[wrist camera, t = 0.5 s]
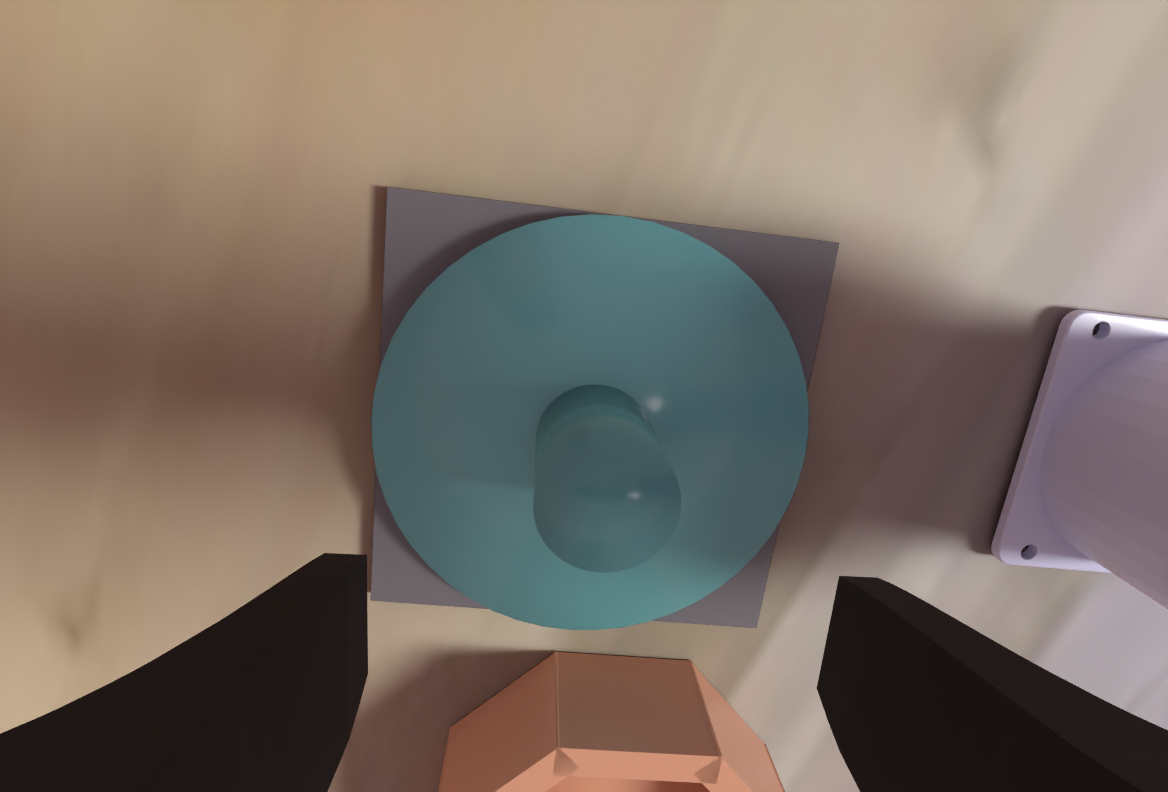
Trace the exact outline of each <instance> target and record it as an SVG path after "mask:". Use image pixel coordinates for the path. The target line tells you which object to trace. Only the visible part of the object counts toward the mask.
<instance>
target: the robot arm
mask: <svg viewBox="0 0 1168 792" xmlns="http://www.w3.org/2000/svg"><path fill="white" fill-rule="evenodd" d="M1098 323H1099V324H1100V325H1099V330H1098V332H1097V334H1095V335H1094V336H1093V335H1092V333H1093V328H1094V327H1095V325H1096V324H1098ZM1027 545H1028V548H1027V550H1026V551H1025V552H1023V553H1021V551H1022V549H1023V548H1024V547H1025V546H1027ZM991 551H992V553H993V555H994V556H995V557H996V558H997V559H999V560H1000V561H1001V562H1002V563H1005V564H1008V565H1020V566H1032V567H1044V568H1056V569H1068V570H1080V571H1092V572H1104V573H1113V574H1115V575H1116V576H1118V577H1119V578H1121V579H1123V580H1124V581H1126V582H1127V583H1129V584H1130V585H1132V586H1133V587H1135V588H1136V589H1138V590H1139V591H1141V592H1143V593H1144V594H1146V595H1147V596H1149V597H1150V598H1152V599H1153V600H1155V601H1156V602H1158V603H1159V604H1161V605H1163V606H1164V607H1166V608H1167V609H1168V320H1166V319H1157V318H1149V317H1141V316H1132V315H1124V314H1115V313H1107V312H1099V311H1090V310H1082V309H1081V310H1074V311H1072V312H1070V313H1068V314H1067V315H1066V316H1065V317H1064V318H1063V319H1062V321H1061V323H1060V325H1059V328H1058V332H1057V335H1056V338H1055V341H1054V345H1053V348H1052V351H1051V354H1050V358H1049V361H1048V364H1047V367H1046V370H1045V374H1044V377H1043V380H1042V383H1041V387H1040V390H1039V393H1038V396H1037V400H1036V403H1035V406H1034V409H1033V412H1032V416H1031V419H1030V422H1029V425H1028V429H1027V432H1026V435H1025V438H1024V442H1023V445H1022V448H1021V451H1020V455H1019V458H1018V461H1017V464H1016V467H1015V471H1014V474H1013V477H1012V480H1011V484H1010V487H1009V490H1008V493H1007V497H1006V500H1005V503H1004V506H1003V509H1002V513H1001V516H1000V519H999V522H998V526H997V529H996V532H995V535H994V539H993V542H992V547H991ZM367 675H368V639H367V555H354V554H331V553H324V554H323V555H321V556H319V557H317V558H315V559H314V560H312V561H311V562H309V563H307V564H306V565H304V566H303V567H301V568H300V569H298V570H297V571H295V572H294V573H292V574H291V575H289V576H288V577H286V578H285V579H283V580H282V581H280V582H279V583H277V584H276V585H274V586H273V587H271V588H270V589H268V590H267V591H265V592H264V593H262V594H260V595H259V596H257V597H256V598H254V599H253V600H251V601H250V602H248V603H247V604H245V605H244V606H242V607H240V608H239V609H237V610H236V611H234V612H233V613H231V614H230V615H228V616H227V617H225V618H223V619H222V620H220V621H219V622H217V623H215V624H214V625H212V626H210V627H208V628H207V629H205V630H203V631H202V632H200V633H198V634H197V635H195V636H193V637H192V638H190V639H188V640H187V641H185V642H183V643H181V644H180V645H178V646H176V647H175V648H173V649H171V650H170V651H168V652H166V653H165V654H163V655H161V656H159V657H158V658H156V659H154V660H153V661H151V662H149V663H147V664H145V665H144V666H142V667H140V668H138V669H136V670H134V671H133V672H131V673H129V674H127V675H125V676H123V677H121V678H119V679H117V680H115V681H113V682H112V683H110V684H108V685H106V686H104V687H101V688H99V689H97V690H95V691H93V692H91V693H89V694H87V695H85V696H83V697H81V698H79V699H77V700H75V701H73V702H71V703H69V704H67V705H65V706H63V707H61V708H58V709H56V710H54V711H52V712H50V713H48V714H45V715H43V716H41V717H39V718H36V719H34V720H32V721H29V722H27V723H25V724H22V725H20V726H18V727H15V728H13V729H11V730H8V731H6V732H3V733H1V734H0V792H327V791H328V789H329V786H330V784H331V782H332V779H333V777H334V774H335V772H336V770H337V767H338V765H339V762H340V760H341V758H342V755H343V753H344V750H345V748H346V745H347V743H348V741H349V738H350V735H351V731H352V728H353V724H354V721H355V718H356V714H357V711H358V707H359V704H360V700H361V697H362V693H363V689H364V686H365V682H366V678H367ZM817 690H818V693H819V696H820V699H821V702H822V704H823V707H824V710H825V713H826V716H827V719H828V722H829V724H830V727H831V730H832V732H833V735H834V737H835V740H836V742H837V745H838V748H839V750H840V752H841V754H842V756H843V758H844V760H845V763H846V765H847V767H848V769H849V770H850V772H851V774H852V776H853V778H854V780H855V782H856V784H857V786H858V788H859V790H860V792H1168V730H1165V729H1163V728H1161V727H1159V726H1157V725H1155V724H1152V723H1150V722H1148V721H1146V720H1144V719H1141V718H1139V717H1137V716H1135V715H1133V714H1131V713H1129V712H1127V711H1125V710H1123V709H1120V708H1118V707H1116V706H1114V705H1112V704H1110V703H1108V702H1106V701H1104V700H1102V699H1100V698H1098V697H1096V696H1094V695H1092V694H1091V693H1089V692H1087V691H1085V690H1083V689H1081V688H1079V687H1077V686H1075V685H1073V684H1071V683H1070V682H1068V681H1066V680H1064V679H1062V678H1060V677H1058V676H1056V675H1054V674H1052V673H1050V672H1049V671H1047V670H1045V669H1043V668H1041V667H1039V666H1038V665H1036V664H1034V663H1032V662H1030V661H1029V660H1027V659H1025V658H1023V657H1021V656H1019V655H1018V654H1016V653H1014V652H1012V651H1011V650H1009V649H1007V648H1005V647H1003V646H1002V645H1000V644H998V643H996V642H995V641H993V640H991V639H989V638H988V637H986V636H984V635H982V634H981V633H979V632H977V631H976V630H974V629H972V628H970V627H969V626H967V625H965V624H963V623H962V622H960V621H958V620H956V619H955V618H953V617H951V616H950V615H948V614H946V613H944V612H943V611H941V610H939V609H937V608H936V607H934V606H932V605H930V604H929V603H927V602H925V601H923V600H921V599H920V598H918V597H916V596H914V595H912V594H910V593H909V592H907V591H905V590H903V589H901V588H899V587H897V586H895V585H893V584H891V583H889V582H886V581H884V580H882V579H879V578H872V577H850V576H839V580H838V585H837V590H836V595H835V600H834V605H833V610H832V615H831V620H830V625H829V630H828V635H827V640H826V645H825V650H824V655H823V660H822V665H821V670H820V675H819V680H818V685H817Z"/></svg>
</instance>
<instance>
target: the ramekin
mask: <svg viewBox="0 0 1168 792" xmlns="http://www.w3.org/2000/svg"><path fill="white" fill-rule="evenodd" d="M438 792H785V791H784V788H783V786H782V784H781V781H780V779H779V776H778V774H777V771H776V769H775V766H774V764H773V762H772V759H771V757H770V754H769V752H768V749H767V747H766V744H764V743H763V742H762V741H761V740H760V739H759V738H758V737H757V735H756V734H755V733H754V732H753V731H752V730H751V729H750V728H749V726H748V725H747V724H746V723H745V722H744V721H743V720H742V719H741V717H740V716H739V715H738V714H737V713H736V712H735V711H734V710H733V708H732V707H731V706H730V705H729V704H728V703H727V702H726V701H725V699H724V698H723V697H722V696H721V695H720V694H719V693H718V692H717V690H716V689H715V688H714V687H713V686H712V685H711V684H710V683H709V681H708V680H707V679H706V678H705V677H704V676H703V675H702V674H701V672H700V671H699V670H698V669H697V668H696V667H695V666H694V665H693V663H692V661H690V660H689V661H687V660H672V659H657V658H642V657H627V656H612V655H597V654H582V653H567V652H557V651H556V652H554V653H553V654H552V655H550V656H549V657H548V658H546V659H545V660H543V661H542V662H541V663H539V664H538V665H536V666H535V667H534V668H532V669H531V670H529V671H528V672H527V673H525V674H524V675H522V676H521V677H520V678H518V679H517V680H516V681H514V682H513V683H511V684H510V685H509V686H507V687H506V688H504V689H503V690H502V691H500V692H499V693H497V694H496V695H495V696H493V697H492V698H490V699H489V700H488V701H486V702H485V703H483V704H482V705H481V706H479V707H478V708H476V709H475V710H474V711H472V712H471V713H469V714H468V715H467V716H465V717H464V718H463V719H461V720H460V721H458V722H457V723H456V724H454V725H453V726H450V729H449V734H448V740H447V746H446V751H445V757H444V762H443V768H442V773H441V779H440V784H439V790H438Z"/></svg>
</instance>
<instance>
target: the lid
mask: <svg viewBox="0 0 1168 792" xmlns="http://www.w3.org/2000/svg"><path fill="white" fill-rule="evenodd" d="M808 423H809V406H808V397H807V389H806V381H805V377H804V373H803V369H802V366H801V362H800V358H799V354H798V352H797V350H796V347H795V345H794V342H793V340H792V338H791V335H790V333H789V331H788V328H787V327H786V325H785V323H784V322H783V320H782V318H781V317H780V315H779V313H778V312H777V310H776V308H775V307H774V305H773V304H772V302H771V301H770V300H769V299H768V298H767V296H766V295H765V294H764V293H763V291H762V290H761V289H760V288H759V286H758V285H757V284H756V283H755V282H754V281H753V280H752V279H751V278H750V277H749V276H748V275H747V274H746V273H745V272H743V271H742V270H741V269H740V268H739V267H738V266H737V265H736V264H735V263H734V262H732V261H731V260H729V259H728V258H727V257H725V256H724V255H722V254H721V253H719V252H718V251H716V250H715V249H714V248H712V247H711V246H709V245H707V244H705V243H703V242H701V241H699V240H697V239H695V238H693V237H691V236H689V235H687V234H685V233H683V232H681V231H678V230H675V229H672V228H669V227H666V226H663V225H661V224H658V223H655V222H650V221H645V220H640V219H635V218H630V217H625V216H616V215H598V214H585V215H572V216H560V217H555V218H551V219H546V220H542V221H537V222H533V223H529V224H526V225H524V226H521V227H518V228H516V229H513V230H510V231H507V232H505V233H502V234H500V235H498V236H496V237H495V238H493V239H491V240H489V241H487V242H485V243H483V244H481V245H479V246H478V247H476V248H474V249H473V250H471V251H470V252H469V253H467V254H466V255H464V256H463V257H462V258H460V259H459V260H458V261H456V262H455V263H453V264H452V265H451V266H449V267H448V268H447V269H446V270H445V271H444V272H443V273H442V274H441V275H440V276H438V277H437V278H436V279H435V280H434V281H433V282H432V283H431V284H430V285H429V286H428V287H427V288H426V289H425V290H424V292H423V293H422V294H421V295H420V297H419V298H418V299H417V300H416V302H415V303H414V304H413V305H412V307H411V308H410V309H409V310H408V312H407V313H406V315H405V317H404V319H403V320H402V322H401V324H400V325H399V327H398V329H397V330H396V332H395V334H394V336H393V337H392V340H391V342H390V345H389V347H388V349H387V352H386V354H385V357H384V359H383V362H382V364H381V368H380V372H379V376H378V380H377V383H376V387H375V391H374V400H373V409H372V418H371V424H372V449H373V454H374V460H375V466H376V472H377V476H378V479H379V482H380V485H381V488H382V491H383V495H384V498H385V501H386V503H387V505H388V507H389V509H390V511H391V513H392V515H393V517H394V519H395V521H396V523H397V525H398V527H399V528H400V530H401V531H402V533H403V534H404V536H405V537H406V539H407V540H408V542H409V543H410V545H411V546H412V547H413V549H414V550H415V551H416V552H417V553H418V554H419V556H420V557H421V558H422V559H423V560H424V561H425V563H426V564H427V565H428V566H429V567H430V568H431V569H432V570H433V571H435V572H436V573H437V574H438V575H439V576H440V577H441V578H442V579H444V580H445V581H446V582H447V583H448V584H449V585H451V586H452V587H454V588H455V589H457V590H458V591H460V592H461V593H462V594H464V595H465V596H467V597H468V598H470V599H472V600H473V601H475V602H477V603H479V604H481V605H483V606H485V607H487V608H489V609H491V610H493V611H495V612H498V613H500V614H503V615H506V616H508V617H511V618H514V619H516V620H520V621H524V622H528V623H532V624H536V625H540V626H544V627H552V628H560V629H568V630H601V629H610V628H620V627H626V626H630V625H635V624H639V623H644V622H648V621H651V620H654V619H657V618H660V617H663V616H666V615H669V614H672V613H674V612H676V611H678V610H680V609H682V608H684V607H687V606H689V605H691V604H693V603H695V602H697V601H698V600H700V599H702V598H703V597H705V596H706V595H708V594H710V593H711V592H713V591H714V590H716V589H718V588H719V587H720V586H721V585H723V584H724V583H725V582H727V581H728V580H729V579H730V578H732V577H733V576H734V575H735V574H737V573H738V572H739V571H740V570H741V569H742V568H743V567H744V566H745V565H746V564H747V563H748V562H749V561H750V560H751V559H752V558H753V557H754V556H755V555H756V554H757V553H758V551H759V550H760V549H761V547H762V546H763V545H764V544H765V542H766V541H767V540H768V538H769V537H770V536H771V535H772V533H773V532H774V530H775V528H776V527H777V525H778V523H779V522H780V520H781V518H782V517H783V515H784V513H785V512H786V510H787V508H788V505H789V503H790V501H791V498H792V496H793V494H794V492H795V489H796V487H797V484H798V481H799V477H800V474H801V470H802V467H803V463H804V459H805V453H806V446H807V440H808Z"/></svg>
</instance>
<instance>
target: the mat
mask: <svg viewBox="0 0 1168 792" xmlns="http://www.w3.org/2000/svg"><path fill="white" fill-rule="evenodd" d="M585 214H598V215H611V214H603V213H594V212H586V211H578V210H570V209H562V208H554V207H546V206H538V205H530V204H522V203H514V202H506V201H498V200H490V199H482V198H473V197H465V196H457V195H449V194H441V193H433V192H425V191H417V190H409V189H401V188H393V187H387V207H386V232H385V256H384V281H383V306H382V330H381V355H380V368H381V364H382V362H383V359H384V357H385V354H386V352H387V349H388V347H389V345H390V342H391V340H392V337H393V336H394V334H395V332H396V330H397V329H398V327H399V325H400V324H401V322H402V320H403V319H404V317H405V315H406V313H407V312H408V310H409V309H410V308H411V307H412V305H413V304H414V303H415V302H416V300H417V299H418V298H419V297H420V295H421V294H422V293H423V292H424V290H425V289H426V288H427V287H428V286H429V285H430V284H431V283H432V282H433V281H434V280H435V279H436V278H437V277H438V276H440V275H441V274H442V273H443V272H444V271H445V270H446V269H447V268H448V267H449V266H451V265H452V264H453V263H455V262H456V261H458V260H459V259H460V258H462V257H463V256H464V255H466V254H467V253H469V252H470V251H471V250H473V249H474V248H476V247H478V246H479V245H481V244H483V243H485V242H487V241H489V240H491V239H493V238H495V237H496V236H498V235H500V234H502V233H505V232H507V231H510V230H513V229H516V228H518V227H521V226H524V225H526V224H529V223H533V222H537V221H542V220H546V219H551V218H555V217H560V216H572V215H585ZM616 216H619V215H616ZM625 217H627V216H625ZM630 218H635V217H630ZM635 219H640V220H645V221H650V222H655V223H658V224H661V225H663V226H666V227H669V228H672V229H675V230H678V231H681V232H683V233H685V234H687V235H689V236H691V237H693V238H695V239H697V240H699V241H701V242H703V243H705V244H707V245H709V246H711V247H712V248H714V249H715V250H716V251H718V252H719V253H721V254H722V255H724V256H725V257H727V258H728V259H729V260H731V261H732V262H734V263H735V264H736V265H737V266H738V267H739V268H740V269H741V270H742V271H743V272H745V273H746V274H747V275H748V276H749V277H750V278H751V279H752V280H753V281H754V282H755V283H756V284H757V285H758V286H759V288H760V289H761V290H762V291H763V293H764V294H765V295H766V296H767V298H768V299H769V300H770V301H771V302H772V304H773V305H774V307H775V308H776V310H777V312H778V313H779V315H780V317H781V318H782V320H783V322H784V323H785V325H786V327H787V328H788V331H789V333H790V335H791V338H792V340H793V342H794V345H795V347H796V350H797V352H798V354H799V358H800V362H801V366H802V369H803V373H804V377H805V381H806V389H807V391H808V386H809V381H810V377H811V372H812V367H813V363H814V358H815V353H816V349H817V344H818V339H819V335H820V330H821V325H822V321H823V316H824V312H825V307H826V302H827V298H828V293H829V288H830V284H831V279H832V274H833V270H834V265H835V260H836V256H837V251H838V246H839V243H836V242H828V241H820V240H812V239H804V238H796V237H788V236H780V235H772V234H764V233H756V232H748V231H740V230H732V229H724V228H715V227H707V226H699V225H691V224H683V223H675V222H667V221H659V220H651V219H643V218H635ZM778 526H779V523H778V525H777V527H776V528H775V530H774V532H773V533H772V535H771V536H770V537H769V538H768V540H767V541H766V542H765V544H764V545H763V546H762V547H761V549H760V550H759V551H758V553H757V554H756V555H755V556H754V557H753V558H752V559H751V560H750V561H749V562H748V563H747V564H746V565H745V566H744V567H743V568H742V569H741V570H740V571H739V572H738V573H737V574H735V575H734V576H733V577H732V578H730V579H729V580H728V581H727V582H725V583H724V584H723V585H721V586H720V587H719V588H718V589H716V590H714V591H713V592H711V593H710V594H708V595H706V596H705V597H703V598H702V599H700V600H698V601H697V602H695V603H693V604H691V605H689V606H687V607H684V608H682V609H680V610H678V611H676V612H674V613H672V614H669V615H666V616H663V617H660V618H657V619H654V620H651V621H664V622H678V623H692V624H706V625H720V626H734V627H747V628H757V623H758V619H759V614H760V609H761V605H762V600H763V595H764V591H765V586H766V581H767V577H768V572H769V567H770V563H771V558H772V553H773V549H774V544H775V539H776V535H777V530H778ZM371 600H372V601H386V602H400V603H413V604H427V605H441V606H455V607H469V608H483V609H489V608H487V607H485V606H483V605H481V604H479V603H477V602H475V601H473V600H472V599H470V598H468V597H467V596H465V595H464V594H462V593H461V592H460V591H458V590H457V589H455V588H454V587H452V586H451V585H449V584H448V583H447V582H446V581H445V580H444V579H442V578H441V577H440V576H439V575H438V574H437V573H436V572H435V571H433V570H432V569H431V568H430V567H429V566H428V565H427V564H426V563H425V561H424V560H423V559H422V558H421V557H420V556H419V554H418V553H417V552H416V551H415V550H414V549H413V547H412V546H411V545H410V543H409V542H408V540H407V539H406V537H405V536H404V534H403V533H402V531H401V530H400V528H399V527H398V525H397V523H396V521H395V519H394V517H393V515H392V513H391V511H390V509H389V507H388V505H387V503H386V501H385V498H384V495H383V491H382V488H381V485H380V482H379V479H378V476H377V472H376V478H375V503H374V527H373V552H372V577H371Z"/></svg>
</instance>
